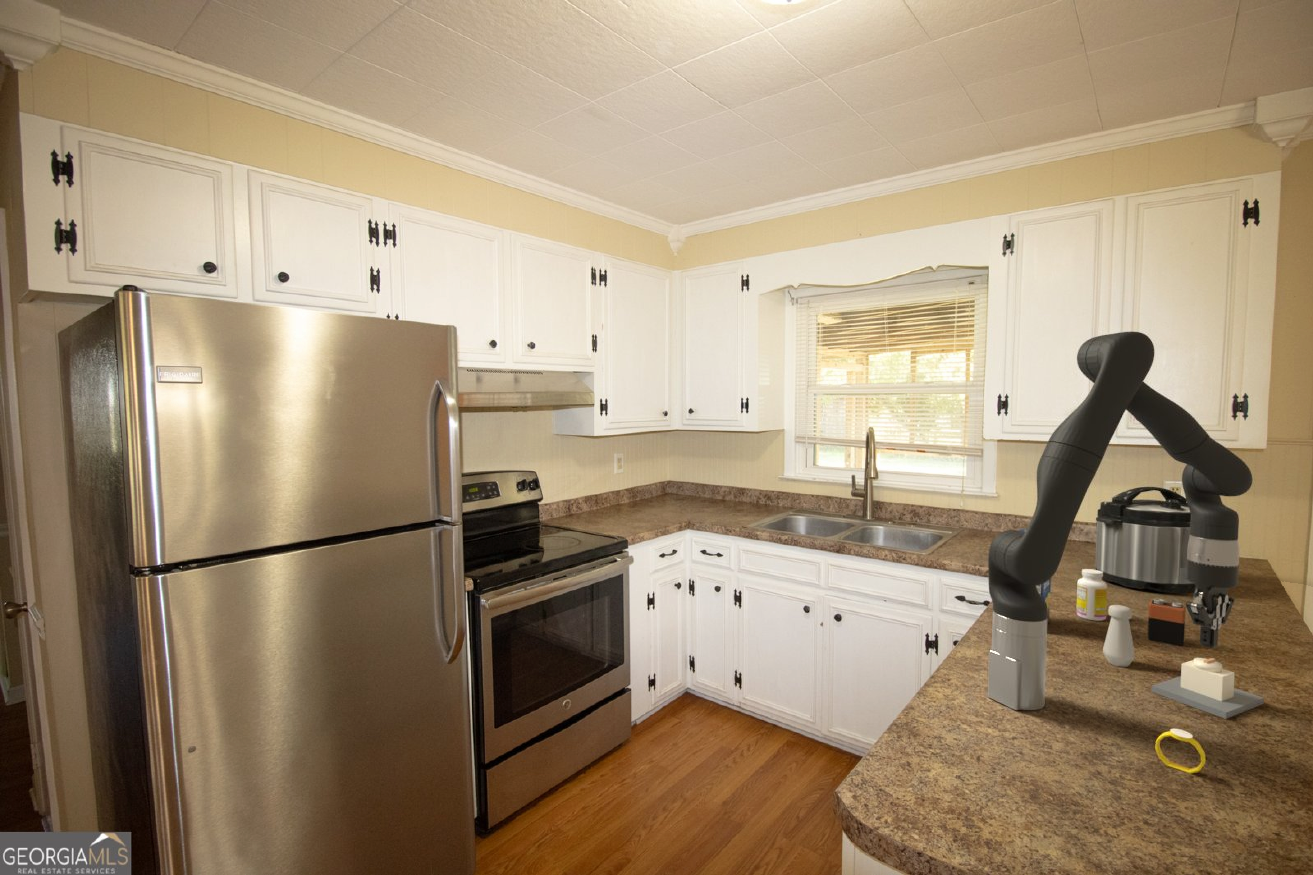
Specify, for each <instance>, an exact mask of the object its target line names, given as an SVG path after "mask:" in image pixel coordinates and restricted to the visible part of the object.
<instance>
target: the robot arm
mask: <svg viewBox="0 0 1313 875" xmlns="http://www.w3.org/2000/svg"><path fill="white" fill-rule="evenodd" d="M1154 359H1155V346H1154V343H1153V341H1152V339H1151V338H1150V337H1149V336H1148V335H1147V334H1145V333H1144V332H1140V331H1122V332H1116V333H1115V332H1114V333H1109V334H1101V335H1099V336H1094V337H1092V338H1089V339H1087V340H1085V341H1084V342H1083V343H1082V344H1081V345H1080V347H1079V349H1078V351H1077V354H1076V362H1077V366H1078V368H1079V370H1080V371H1081V373H1082V374H1083V375H1084V376H1085V377H1086V378H1087V379H1088V380H1089V381H1090V382H1091V383H1093V385H1092V386H1091V389H1090V391H1089V392H1088V394H1087V396H1086V397H1085V398H1084V400H1083V401H1082V402H1081V403H1080V405H1078V406H1077V407H1076V409H1074V411H1072V412H1071V413H1070V414H1069V415H1068V416H1067V417H1066V418H1065V419H1064V420H1063V421H1062V422H1061V423H1060V424H1059V425H1058V427H1056V429H1054V431H1053V432H1052V434H1051V435H1050V437H1049V439H1048V441H1047V442H1046V445H1045V448H1044V449H1043V452H1042V453H1041V454H1042V455H1041V456H1040V457H1039V458H1040V459H1039V461H1038V465H1037V469H1036V496H1037V497H1036V499H1037V500H1036V506H1035V510H1034V512H1033V515H1032V517H1031V520H1030V522H1029V524H1028V527H1027V528H1026V529H1025V530H1026V532H1025V533H1024V532H1021V531H1019V530H1015V529H1008V530H1004V531H1001V532H999V533H997V535H996V536H995V537H993V539H992V541H991V543H990V545H989V550H988V554H987V556H988V558H987V569H988V571H987V573H988V575H987V576H988V592H989V593H988V594H989V595H990V599H991V602H992V623H991V624H992V628H991V629H992V632H991V649H990V650H988V662H987V663H988V664H987V666H988V669H987V671H988V674H987V698H990V699H992V700H994V701H996V702H998V703H1000V704H1002V705H1004V706H1006V707H1008V708H1009V709H1012V710H1014V711H1019V710H1024V711H1037V710H1041V709H1043V708H1044V707H1045V700H1046V670H1047V669H1046V667H1047V666H1046V664H1047V638H1048V637H1047V634H1048V623H1047V614H1048V608H1047V604H1046V602H1045V601H1044V600H1043V598H1042V597H1041V596H1040V594H1039V592H1038V590H1037V588H1036V586H1037V585H1041V584H1043V583H1045V582H1047V581H1048V580H1049V579H1050V578H1051V579H1052V578H1053V577H1054V575H1055V574H1056V573H1057V571H1058V568H1059V566H1060V563H1061V561H1062V558H1063V555H1064V552H1065V548H1066V545H1067V542H1068V539H1069V536H1070V533H1071V530H1072V527H1073V524H1074V521H1075V519H1076V517H1077V514H1078V513H1079V510H1080V508H1081V506H1082V503H1083V501H1084V498H1085V496H1086V494H1087V491H1088V490H1089V488H1090V486H1091V483H1092V482H1093V480H1094V478H1095V476H1096V474H1097V471H1099V467H1100V465H1101V463H1102V461H1103V459H1104V456H1105V454H1106V451H1107V449H1108V446H1109V445H1110V443H1111V440H1112V438H1113V436H1114V434H1115V432H1116V430H1117V428H1118V426H1119V425H1120V422H1121V420H1122V418H1123V416H1124V414H1125V412H1126V411H1127V413H1129V414H1130V415H1131V416H1132V417H1134V418H1135V419H1136V420H1137V421H1138V422H1139V423H1140V424H1141V425H1142V426H1143V427H1144V428H1145V429H1146V430H1147V431H1148V432H1149V433H1150V434H1151V436H1152V437H1153V439H1155V441H1156V442H1157V443H1158V444H1159V445H1160V446H1161V447H1162V448H1163V449H1164V451H1166V453H1167V454H1168V456H1170V457H1171V458H1172V459H1173V460H1175V461H1177V462H1179V463H1181V464H1186V465H1185V466H1184V468H1183V469H1182V470H1183V471H1182V474H1181V483H1182V488H1183V493H1184V495H1185V498H1186V500H1187V504H1188V507H1189V510H1190V513H1191V522H1190V538H1189V542H1188V551H1187V574H1186V578H1187V580H1189V581H1190V582H1193V583H1194V584H1195V585H1196V587H1195V591H1193V601H1186V603H1185V608H1186V610H1187V612H1188V613H1189V616H1190V618H1191V621H1192V622H1193V625H1195V626H1198V627H1200V630H1199V631H1200V635H1199V644H1200V646H1202V647H1206V648H1209V649H1213V648H1216V647H1218V645H1219V644H1218V643H1219V642H1218V641H1219V629H1221V628H1222V625H1225V624H1226V622H1227V621H1228V618H1229V616H1230V613H1231V611H1232V609H1233V606H1234V603H1235V600H1236V599H1235V597H1231V596H1229V595H1228V594H1229V589H1235V588H1236V587H1238V584H1239V566H1240V564H1239V563H1240V548H1239V546H1240V545H1239V530H1240V529H1239V526H1240V524H1239V523H1240V517H1239V514H1238V512H1237V511H1236V510H1234V509H1233V508H1230V507H1228V506H1226V505H1225V504H1224V503H1223V501H1222V498H1221V497H1239V496H1242V495H1244V494H1245V493H1247V492H1249V490H1250V489H1251V487H1252V486H1253V475H1252V471H1251V469H1250V467H1249V466H1248V465H1247V463H1246V462H1245V461H1243V460H1242V458H1240V457H1239V456H1238V455H1236V454H1235V453H1233V452H1232V451H1231V450H1229V448H1227V447H1225V445H1223V444H1221V443H1219V442H1218V441H1216V440H1215V439H1213V438H1212V437H1211V436H1210V435H1209V433H1208V432H1207V431H1206V429H1204V427H1203V426H1202V425H1201V424H1200V423H1199V422H1198V421H1197V420H1196V418H1195V417H1194V416H1193V415H1192V414H1190V412H1188V411H1187V410H1186V409H1185V408H1183V407H1182V406H1180V405H1179V404H1177V403H1176V402H1175V401H1173V400H1172V399H1170V398H1168V397H1166V396H1164V395H1163V394H1161V393H1160V392H1158V391H1157V390H1155V389H1154V388H1152V387H1151V386H1150V385H1148V384H1147V383H1146V382H1145V379H1146V378H1147V375H1148V374H1149V372H1150V370H1151V367H1152V366H1153V363H1154Z"/></svg>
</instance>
